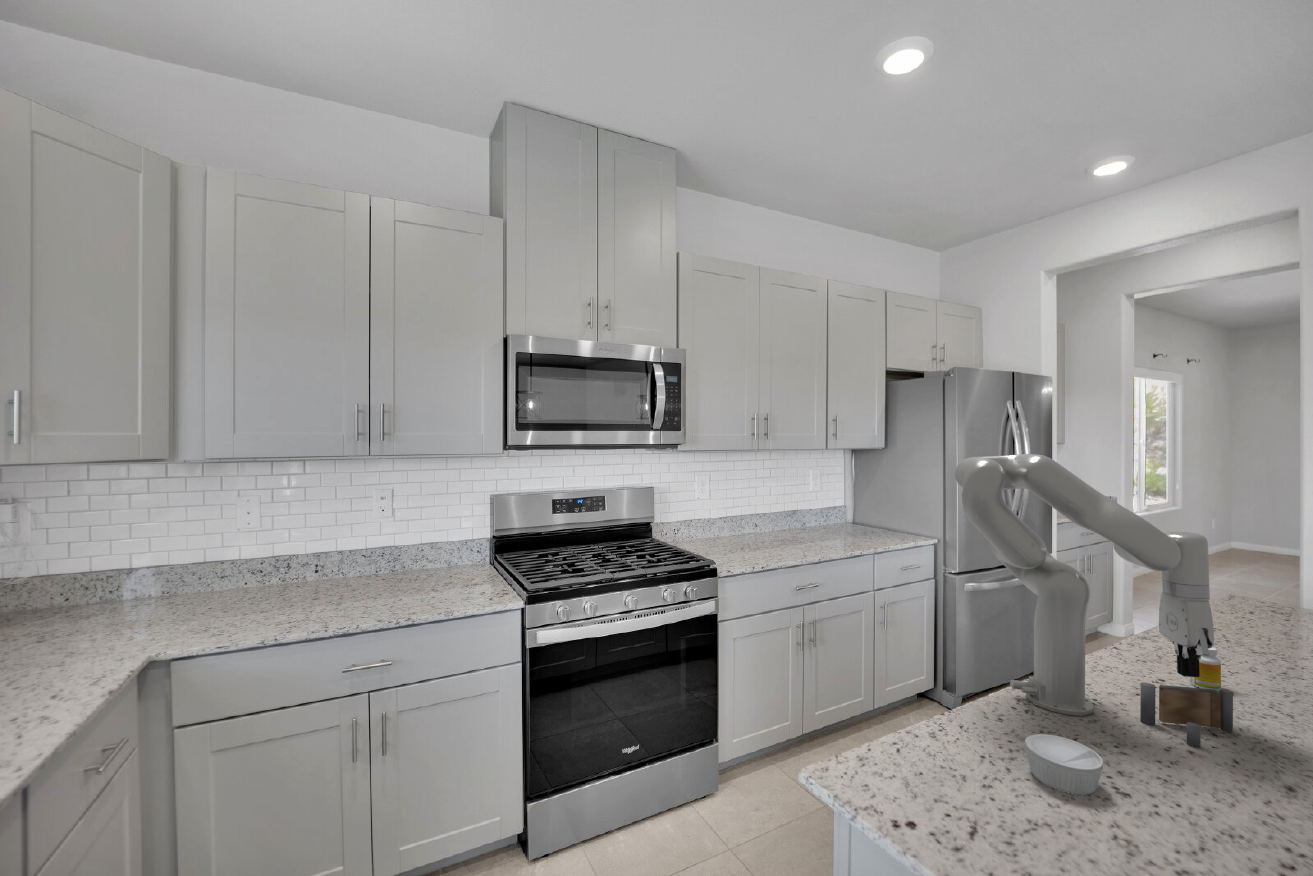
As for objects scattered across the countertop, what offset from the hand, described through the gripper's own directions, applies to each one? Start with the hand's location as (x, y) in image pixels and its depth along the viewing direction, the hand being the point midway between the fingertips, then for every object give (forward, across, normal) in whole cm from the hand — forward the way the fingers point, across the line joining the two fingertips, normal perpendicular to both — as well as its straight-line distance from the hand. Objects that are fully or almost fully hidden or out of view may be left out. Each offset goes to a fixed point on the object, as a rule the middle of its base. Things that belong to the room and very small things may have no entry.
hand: (1188, 675), depth 123 cm
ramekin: (+8, +31, -39) cm, 50 cm away
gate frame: (+9, +9, -9) cm, 15 cm away
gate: (+8, +4, -3) cm, 10 cm away
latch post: (+9, +4, +4) cm, 11 cm away
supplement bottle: (+10, -20, +15) cm, 27 cm away
